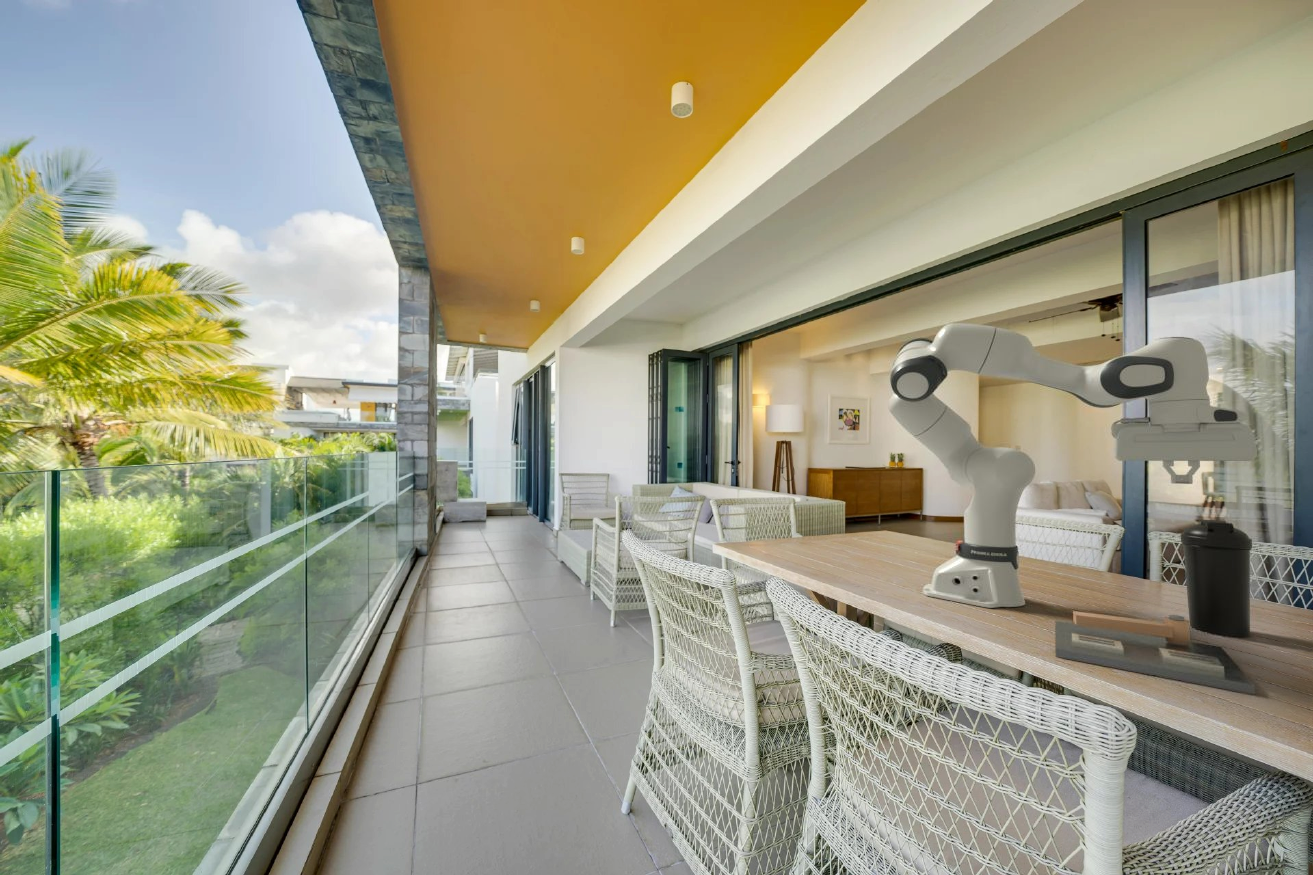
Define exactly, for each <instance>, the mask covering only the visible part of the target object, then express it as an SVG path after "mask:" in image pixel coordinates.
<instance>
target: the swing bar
mask: <svg viewBox="0 0 1313 875" xmlns="http://www.w3.org/2000/svg"><path fill="white" fill-rule="evenodd" d="M1072 616H1073V617H1072V619H1073V622H1074V623H1073V624H1076V625H1079V626H1086V627H1094V628H1102V629H1109V630H1117V631H1124V632H1130V633H1137V634H1143V635H1149V636H1156V637H1162V638H1165V639H1166V641H1167V642H1169V643H1173V644H1177V645H1185V646H1188V645H1190V642H1191V639H1190V638H1191V636H1190V632H1191V631H1190V621H1189V620H1187V619H1185V617H1184V616H1182V615H1177V614H1169V615H1168V616H1165V617H1164V621H1157V620H1150V619H1140V618H1134V617H1124V616H1116V615H1106V614H1099V613H1091V612H1083V611H1074V610H1073V611H1072Z"/></svg>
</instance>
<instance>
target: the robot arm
mask: <svg viewBox="0 0 1313 875" xmlns="http://www.w3.org/2000/svg"><path fill="white" fill-rule="evenodd" d="M955 370H956V371H957V370H958V371H964V372H969V373H973V374H977V375H981V376H987V377H992V378H997V379H998V378H999V379H1009V380H1017V381H1018V380H1019V381H1025V382H1029V383H1033V384H1037V385H1039V386H1040V385H1041V386H1044V387H1047V388H1052V389H1055V390H1059V391H1063V392H1066V393H1069V394H1071V396H1074V397H1076V399H1078V400H1080V401H1081V402H1082V403H1084V404H1087V405H1089V406H1090V407H1093V408H1099V409H1108V408H1114V407H1117V406H1119V405H1121V404H1124V403H1130V402H1132V401H1136V400H1140V399H1146V400H1147V402H1148V405H1147V406H1148V417H1147V416H1146V417H1145V416H1144V417H1134V418H1130V417H1124V418H1120V420H1116V421H1115V422H1113V423H1112V424H1111V436H1112V437H1113V439H1115V440H1114V448H1113V456H1114V458H1115V459H1116V460H1117V461H1119V462H1120V461H1121V462H1125V461H1126V462H1129V461H1130V462H1133V461H1134V462H1137V461H1139V462H1140V461H1141V462H1144V461H1145V462H1148V461H1150V462H1153V461H1154V462H1157V461H1158V462H1162V467H1163V468H1164V470H1165V471H1166V472H1167V474H1168V475H1169V476H1170V483H1171V484H1180V485H1181V484H1182V485H1183V484H1186V485H1187V484H1189V485H1193V483H1194V481H1193V476H1194V475H1195V474H1196V473H1197V471H1198V470H1199V469H1200V467H1201V462H1252V461H1253V460H1255V459H1256V458H1257V457H1258V448H1257V442H1256V439H1255V434H1254V432H1253V430H1252V428H1251V427H1250V426H1249V425H1247V424H1245V423H1243V422H1246V418H1247V415H1246V413H1245V412H1244V411H1242V410H1237V409H1236V410H1235V409H1230V408H1224V407H1219V406H1213V405H1211V398H1210V396H1209V393H1208V389H1207V386H1208V383H1209V381H1210V375H1209V374H1210V372H1209V364H1208V357H1207V353H1206V350H1205V347H1204V344H1203V343H1201V341H1199V340H1197V339H1194V338H1192V337H1186V336H1185V337H1184V336H1170V337H1160V338H1157V339H1153V340H1152V341H1151V342H1149V343H1148V344H1147V345H1145V346H1143V347H1141V348H1139V349H1136V350H1135V351H1132V352H1129V353H1126V354H1124V355H1121V356H1118V357H1115V358H1112V359H1110V360H1107V361H1105V362H1103V363H1100V364H1095V365H1086V366H1085V365H1077V364H1074V363H1069V362H1065V361H1061V360H1058V359H1053V358H1049V357H1046V356H1044V355H1041V354H1039V353H1038V352H1037V351H1036V350H1035V347H1034V345H1033V343H1032V342H1031V339H1029V338H1028V337H1027V336H1026V335H1024V334H1021V333H1018V332H1015V331H1013V330H1010V329H1005V328H1003V327H1002V328H1001V327H998V326H997V327H996V326H992V325H985V324H976V323H966V322H965V323H962V322H960V323H959V322H956V323H955V322H951V323H948V324H945V325H943V327H941V328H940V330H939V331H938V332H937V333H936V335H935V336H934V339H933V340H932V339H930V338H926V337H918V338H914V339H911V340H908V341H907V342H906V343H904V345H903V346H901V348H900V349H899V351H898V353H897V355H896V357H895V359H894V361H893V362H892V371H891V373H890V378H889V380H890V388H891V390H892V391H893V393H892V395H891V396H890V398H889V401H888V410H889V412H890V414H891V415H892V416H893V417H894V419H895V420H896V421H897V422H898V423H899V424H900V425H901V426H902V427H903V429H905V430H906V431H907V433H909V434H910V435H912V437H914V438H915V439H916V440H917V441H919V442H920V443H921V444H922V445H923V446H924V447H925V448H927V449H928V450H929V451H930V452H932V453H933V454H934V455H935V457H937V458H938V460H939V461H940V462H941V463H942V465H943V466H944V467H945V468H946V469H947V474H948V476H949V477H950V479H951V480H953V482H955V483H956V484H959V485H960V486H962V487H966V488H969V489H973V495H972V497H971V498H972V499H971V501H970V504H969V505H968V507H967V508H965V510H964V514H963V527H964V528H963V529H964V530H963V531H964V532H963V533H964V534H963V535H964V540H958V541H957V542H956V543H955V554H956V555H955V556H954V557H952V558H950V559H948V560H946V561H945V562H943V563H942V564H940V565H939V566H937V567H936V569H934V571H933V575H932V580H931V582H930V583H927V584H925V585H924V586H923V588H922V593H923V594H924V595H925V596H928V597H932V598H936V599H941V600H948V601H952V602H958V603H963V604H967V605H973V606H978V607H982V608H987V609H988V608H989V609H991V608H1001V607H1003V608H1004V607H1005V608H1012V607H1013V608H1015V607H1022V606H1025V605H1026V601H1025V599H1024V598H1025V597H1024V595H1023V591H1022V588H1021V584H1020V579H1019V577H1020V576H1019V571H1018V570H1019V566H1020V553H1019V548H1018V545H1016V541H1017V540H1016V520H1017V519H1016V516H1017V510H1018V505H1019V504H1020V503H1019V502H1020V500H1021V497H1022V494H1023V492H1024V490H1025V489H1026V488H1027V487H1028V486H1029V485H1030V484H1031V483H1032V482H1033V480H1034V479H1035V475H1036V466H1035V463H1034V460H1033V459H1032V458H1031V457H1030V455H1028V453H1026V452H1024V451H1020V450H1018V449H1014V448H1011V447H1007V446H1006V447H1005V446H1001V447H1000V446H999V447H998V446H997V447H994V446H993V447H991V446H990V447H988V446H985V445H983V444H982V443H981V442H979V441H978V440H977V438H976V436H974V434H973V433H972V432H971V431H972V427H971V425H970V423H968V421H966V420H965V419H964V418H963V417H961V416H960V415H959V414H958V413H957V412H956V411H954V410H953V409H951V407H949V406H948V405H947V404H946V403H944V402H943V400H940V399H939V398H938V397H937V396H936V395H935V394H934V392H936V390H937V389H938V388H939V387H940V385H941V384H942V383H943V382H944V380H945V379H946V378H948V375H949V374H948V372H951V371H955ZM1175 462H1187V466H1188V467H1190V469H1189V470H1188V471H1187V473H1186V474H1177V473H1176V472H1175V471H1174V470H1173V468H1172V467H1174V466H1175Z"/></svg>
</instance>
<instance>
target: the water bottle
mask: <svg viewBox="0 0 1313 875" xmlns="http://www.w3.org/2000/svg"><path fill="white" fill-rule="evenodd" d="M1194 521H1195V522H1200V524H1195V525H1191V526H1188V527H1187V528H1185V529H1184V530H1183V531H1182V532H1181V533H1180V542H1181V544H1182V546H1183V559H1184V571H1185V582H1186V594H1187V595H1186V596H1187V597H1186V598H1187V605H1188V619H1189V620H1188V621H1189V627H1190V626H1191V627H1192V628H1191V627H1190V628H1191V629H1193V628H1195V629H1196V631H1198V630H1200V631H1199V632H1201V631H1202V633H1205V632H1207V633H1206V634H1209V633H1210V635H1214V634H1216V635H1215V636H1219V635H1220V636H1221V637H1226V636H1228V637H1227V638H1233V639H1234V638H1236V639H1246V638H1248V639H1249V638H1250V637H1251V551H1252V549H1253V539H1252V538H1250V537H1249V535H1248V534H1247V533H1246V532H1244V531H1243V530H1241V529H1239V528H1236V527H1234V524H1233V523H1231V522H1230V523H1229V522H1227V521H1226V520H1217V519H1216V520H1213V519H1194ZM1195 629H1194V630H1195ZM1220 636H1219V637H1220Z"/></svg>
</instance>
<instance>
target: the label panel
mask: <svg viewBox="0 0 1313 875" xmlns="http://www.w3.org/2000/svg"><path fill="white" fill-rule="evenodd" d="M1054 624H1055V626H1054V628H1055V635H1054V636H1055V638H1054V639H1055V640H1054V642H1055V645H1054V647H1055V648H1054V649H1055V657H1056V658H1061V659H1066V660H1071V661H1077V662H1079V663H1080V662H1082V663H1085V664H1087V663H1088V664H1091V665H1096V666H1097V665H1098V666H1102V667H1106V668H1113V669H1118V670H1123V671H1128V672H1133V673H1139V674H1143V673H1144V675H1148V674H1149V676H1153V675H1156V676H1155V677H1159V678H1164V679H1169V680H1176V681H1179V680H1181V681H1180V682H1184V683H1190V682H1191V684H1194V685H1202V686H1206V687H1211V688H1216V689H1217V688H1218V689H1221V688H1222V689H1221V690H1226V691H1232V692H1238V693H1243V694H1248V695H1253V696H1255V695H1256V694H1255V692H1256V691H1255V690H1256V689H1255V684H1254V683H1253V682H1252V680H1251V679H1250V678H1249V677H1248V676H1247V675H1246V674H1245V672H1244V671H1243V670H1242V669H1241V668H1240V667H1239V666H1238V664H1236V663H1235V661H1234V660H1233V659H1232V658H1231V656H1229V654H1228V653H1227V651H1225V650H1224V649H1223V647H1222V646H1220V645H1219V646H1217V645H1212V644H1205V643H1199V642H1192V641H1190V645H1188V646H1185V645H1177V644H1173V643H1169V642H1167V641H1166V639H1165V637H1162V636H1155V635H1147V634H1139V633H1132V632H1124V631H1117V630H1109V629H1102V628H1094V627H1086V626H1079V625H1076V624H1075V623H1073V622H1066V621H1065V622H1064V621H1059V620H1055V623H1054Z"/></svg>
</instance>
